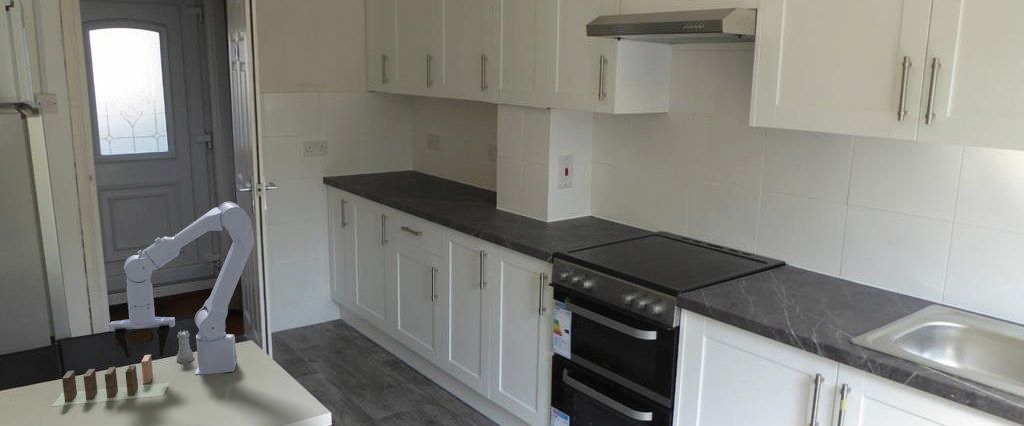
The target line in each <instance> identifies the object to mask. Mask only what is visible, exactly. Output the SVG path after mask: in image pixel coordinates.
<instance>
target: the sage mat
mask: <svg viewBox="0 0 1024 426" xmlns="http://www.w3.org/2000/svg"><path fill="white" fill-rule="evenodd" d="M169 384H170V382H164V383H154V384H152V383H151V384H141V385H138V389H137V391H136V393H135V395H134V396H128V394H127V386H122V387H118V391H117V393H116V394H115V396H114V398H107V393H106V388H101V389H100V388H99V389H98V388H97V391H98V392H97V394H96V395H95V397H94V398H93V400H86V394H85V390H79V391H77V395H76V396H75V398H74V399H73V400H72V402H65V398H64V392H61V394H60V395H59V396H58V398H57V399H56V400H55V401H54V403H53V404H52V405H51V407H61V406H70V405H79V404H89V403H91V404H92V403H101V402H109V401H111V402H113V401H119V400H120V401H122V400H131V399H141V398H152V397H161V396H162V397H163V396H164V395H165V393H166V390H167V389H168V386H169Z"/></svg>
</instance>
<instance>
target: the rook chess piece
mask: <svg viewBox="0 0 1024 426" xmlns="http://www.w3.org/2000/svg"><path fill="white" fill-rule="evenodd" d="M190 335H191V334H190V333H189V330H183V331H182V330H180V331H178V332H177V335H176V337H177V339H178V344H179V346H178V352H177V354H176V361H177V362H178V363H187V362H191V361H193V360H194V359H195V356H194V352H193V351H192V349H191V346H190V338H189V337H190Z"/></svg>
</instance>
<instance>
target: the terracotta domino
mask: <svg viewBox="0 0 1024 426" xmlns="http://www.w3.org/2000/svg"><path fill="white" fill-rule="evenodd" d="M152 363H153V361H152V354H145V355H144V356H143V358H142V360H141V363H140V364H141V372H142V381H143V384H147V383H148V384H149V383H151V381H152V378H153V377H154V372H153V371H154V370H153V364H152Z"/></svg>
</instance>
